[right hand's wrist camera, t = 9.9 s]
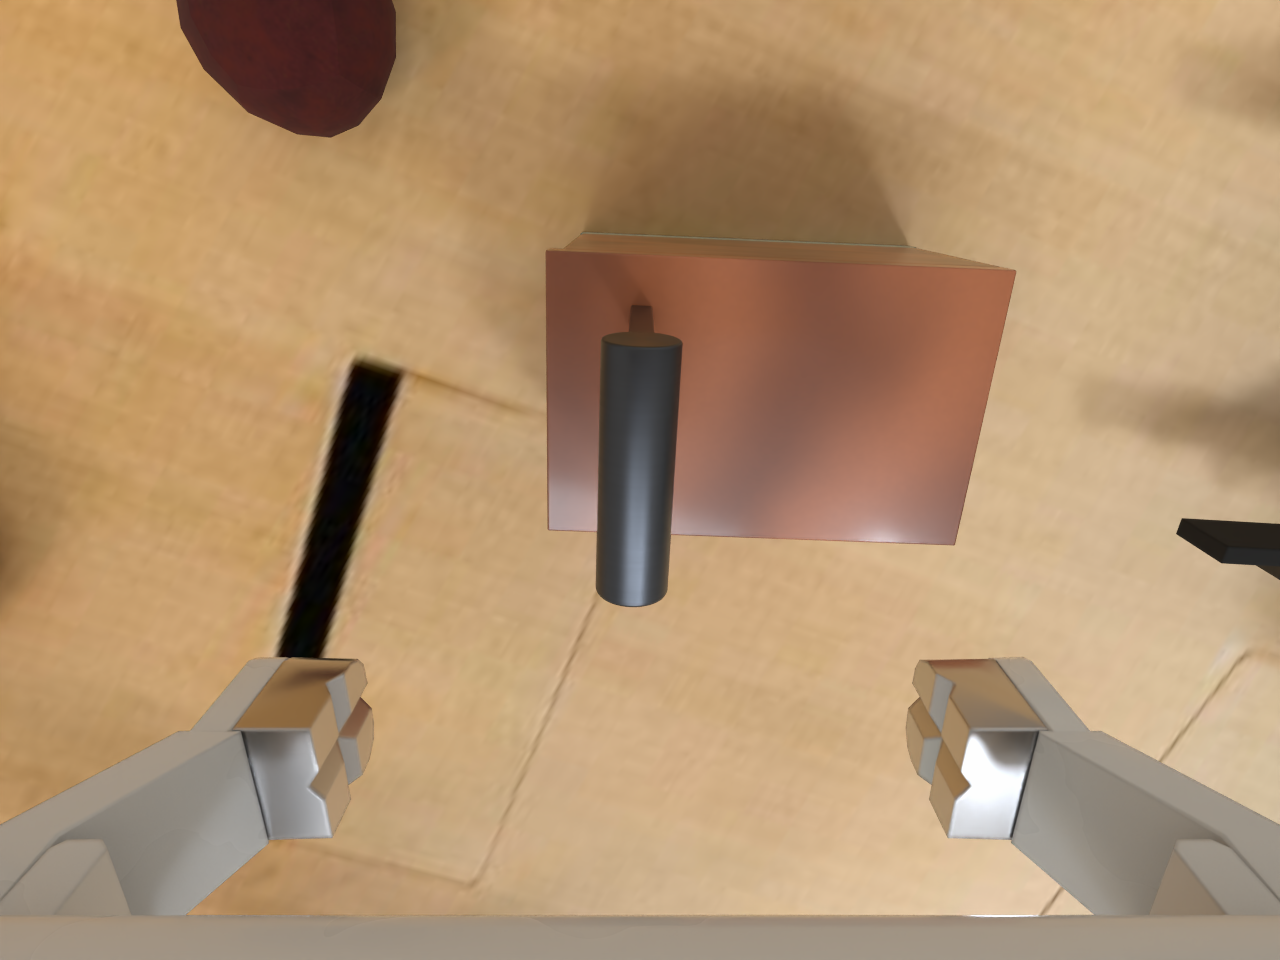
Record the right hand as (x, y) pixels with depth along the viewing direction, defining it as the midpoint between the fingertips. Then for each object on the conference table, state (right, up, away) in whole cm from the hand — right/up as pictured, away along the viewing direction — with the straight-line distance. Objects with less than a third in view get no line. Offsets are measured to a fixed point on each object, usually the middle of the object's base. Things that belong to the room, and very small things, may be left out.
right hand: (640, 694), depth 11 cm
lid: (+4, +6, +15) cm, 17 cm away
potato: (-13, +21, +19) cm, 31 cm away
